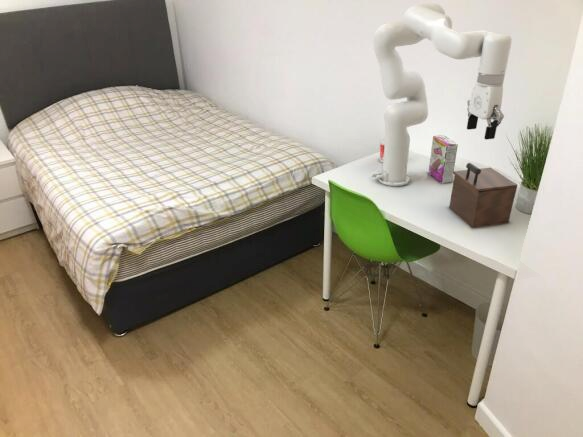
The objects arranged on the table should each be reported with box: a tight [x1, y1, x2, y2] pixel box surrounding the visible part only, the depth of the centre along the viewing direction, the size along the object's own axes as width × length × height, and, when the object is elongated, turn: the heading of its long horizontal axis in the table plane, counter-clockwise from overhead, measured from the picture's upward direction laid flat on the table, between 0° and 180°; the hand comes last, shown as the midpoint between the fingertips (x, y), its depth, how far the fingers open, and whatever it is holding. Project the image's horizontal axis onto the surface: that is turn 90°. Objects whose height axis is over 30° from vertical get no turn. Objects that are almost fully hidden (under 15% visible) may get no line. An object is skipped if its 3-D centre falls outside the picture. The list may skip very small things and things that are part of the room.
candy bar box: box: [428, 134, 459, 184], centre depth 186 cm, size 11×5×16 cm, turn 14°
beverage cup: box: [379, 138, 385, 163], centre depth 204 cm, size 6×6×14 cm
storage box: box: [448, 174, 518, 229], centre depth 159 cm, size 14×15×13 cm
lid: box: [453, 162, 518, 191], centre depth 155 cm, size 15×15×6 cm
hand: (480, 133), depth 147 cm, fingers open, 9 cm apart
